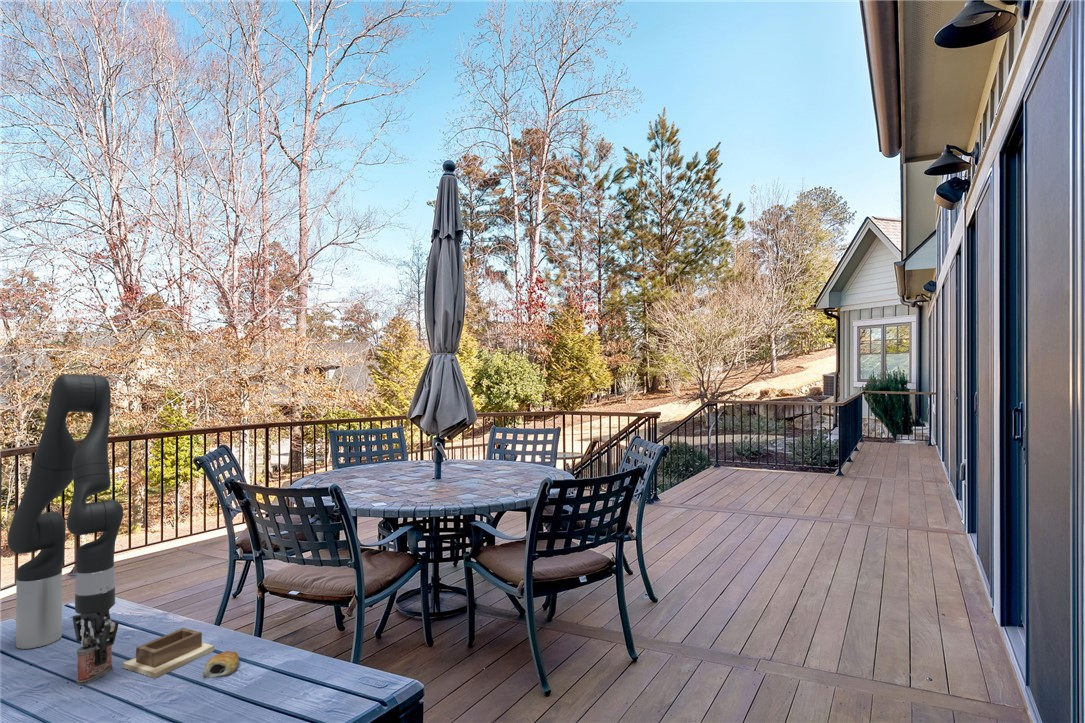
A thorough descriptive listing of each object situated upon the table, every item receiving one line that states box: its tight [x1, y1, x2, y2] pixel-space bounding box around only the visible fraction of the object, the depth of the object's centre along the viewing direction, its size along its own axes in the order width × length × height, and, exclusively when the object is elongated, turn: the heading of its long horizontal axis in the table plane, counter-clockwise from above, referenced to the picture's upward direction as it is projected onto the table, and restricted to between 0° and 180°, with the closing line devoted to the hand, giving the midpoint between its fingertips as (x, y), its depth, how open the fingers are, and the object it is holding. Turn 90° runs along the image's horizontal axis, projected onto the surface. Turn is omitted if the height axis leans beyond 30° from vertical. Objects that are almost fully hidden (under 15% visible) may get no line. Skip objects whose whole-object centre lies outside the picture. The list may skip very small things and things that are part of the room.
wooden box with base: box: [122, 627, 215, 679], centre depth 148 cm, size 12×15×5 cm
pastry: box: [202, 650, 240, 679], centre depth 144 cm, size 9×7×4 cm
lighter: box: [75, 632, 114, 686], centre depth 140 cm, size 8×3×10 cm, turn 168°
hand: (95, 662), depth 140 cm, fingers closed on lighter, 3 cm apart
